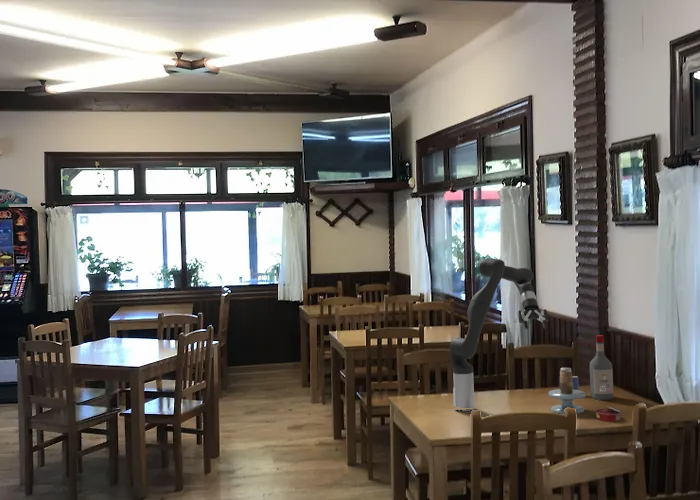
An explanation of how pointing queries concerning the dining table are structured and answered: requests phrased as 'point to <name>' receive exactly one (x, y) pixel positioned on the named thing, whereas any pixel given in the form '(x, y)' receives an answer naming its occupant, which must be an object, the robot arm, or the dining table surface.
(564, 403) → the cake stand
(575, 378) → the flask
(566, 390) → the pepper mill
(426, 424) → the dining table surface
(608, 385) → the liquor
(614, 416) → the canned food
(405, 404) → the dining table surface
